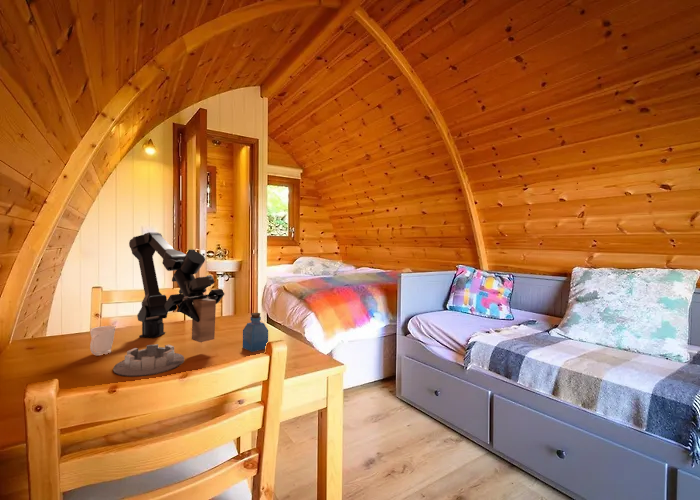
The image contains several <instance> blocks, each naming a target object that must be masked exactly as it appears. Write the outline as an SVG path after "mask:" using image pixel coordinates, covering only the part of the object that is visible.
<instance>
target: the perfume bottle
mask: <svg viewBox="0 0 700 500" xmlns="http://www.w3.org/2000/svg"><path fill="white" fill-rule="evenodd" d="M261 320H262V316H261V313H260V312H251V313H250V321H251V322H247V323H246V325H245V326H244V327H243V330H242V348H243V349H244V350H247V351H248V352H250V353H253V352H257V351H262V350H265V346H266V343H267V342H268V343H269V330H268V327H267V326H266V324H265V322H264V323H263V322H261Z"/></svg>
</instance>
